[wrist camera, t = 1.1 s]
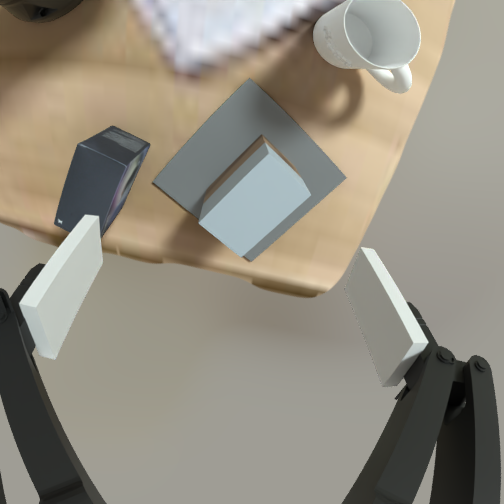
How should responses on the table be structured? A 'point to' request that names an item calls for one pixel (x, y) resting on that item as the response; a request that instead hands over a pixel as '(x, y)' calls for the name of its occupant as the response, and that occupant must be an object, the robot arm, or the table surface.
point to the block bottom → (241, 160)
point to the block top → (253, 201)
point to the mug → (371, 40)
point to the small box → (100, 178)
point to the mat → (235, 143)
